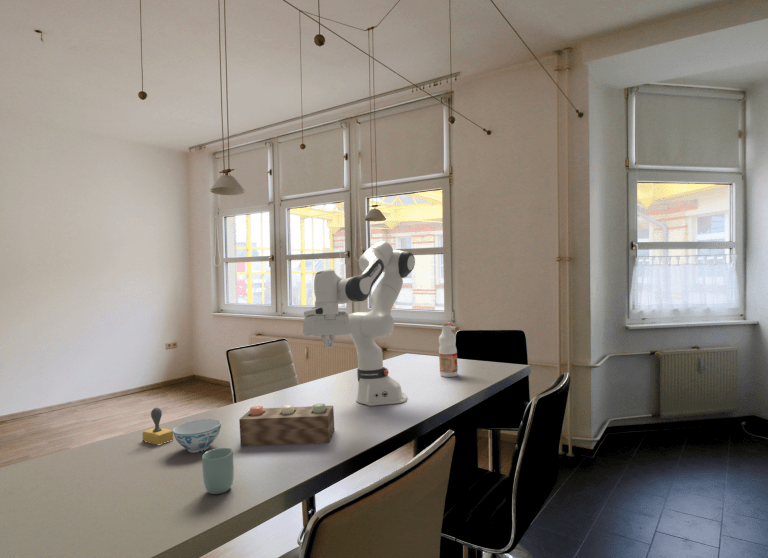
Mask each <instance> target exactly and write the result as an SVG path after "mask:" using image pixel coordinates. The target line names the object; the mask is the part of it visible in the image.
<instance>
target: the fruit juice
mask: <svg viewBox="0 0 768 558" xmlns="http://www.w3.org/2000/svg"><path fill="white" fill-rule="evenodd" d="M451 327H452V323H451V322H450V321H449V322H441V334H439V336H438V343H439V347H438V357H439V360H438V361H439V375H440V376H441V377H443V378H453V377H454V378H455V377H457V376H458V374H459V369H458V368H459V367H458V349H457V346H456V341H457V340H456V339H457V338H456V335H455V334H454V333H453V331H452V328H451Z"/></svg>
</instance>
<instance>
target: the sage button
mask: <svg viewBox="0 0 768 558" xmlns="http://www.w3.org/2000/svg"><path fill="white" fill-rule="evenodd" d="M311 406H312V407H313V413H325V412H326V410H325V406H326V404H325V403H314V404H313V405H311Z"/></svg>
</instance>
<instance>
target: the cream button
mask: <svg viewBox="0 0 768 558" xmlns="http://www.w3.org/2000/svg"><path fill="white" fill-rule="evenodd" d="M294 407H295V406H294V404H285V405H281V407H280V408H281V415H284V414H294Z"/></svg>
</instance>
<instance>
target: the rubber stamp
mask: <svg viewBox="0 0 768 558" xmlns="http://www.w3.org/2000/svg"><path fill="white" fill-rule="evenodd" d="M162 412H163V411H162V409H161V408H159V407H154V408H153V409H152V410H151V412H150V417H151V419H152V421H153V423H154V427H153V428H148V429H147V430H143V431H142V441H143V440H144V441H147V442H150V443H149V444H151V443H153V444H152V445H155V444H157V445H156V446H158V444H161V443H164V442H167V441H170V440H173V441H174V434H173V429H169V428H163V427H160V422H161V418H162V416H163V414H162ZM144 441H143V442H144ZM147 442H146V443H147Z"/></svg>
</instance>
